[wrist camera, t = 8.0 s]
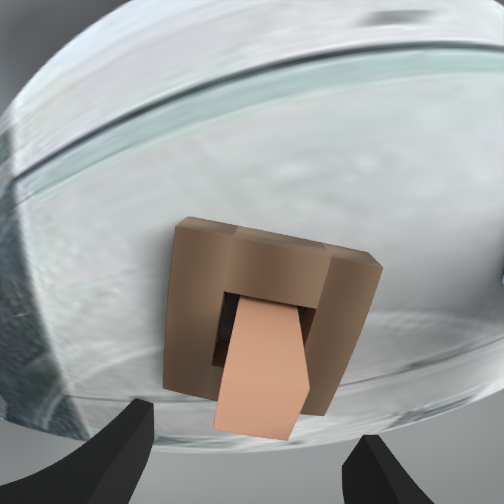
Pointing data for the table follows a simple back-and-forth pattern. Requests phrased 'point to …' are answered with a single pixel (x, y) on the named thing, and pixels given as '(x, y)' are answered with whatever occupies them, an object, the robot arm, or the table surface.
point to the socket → (264, 287)
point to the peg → (263, 371)
